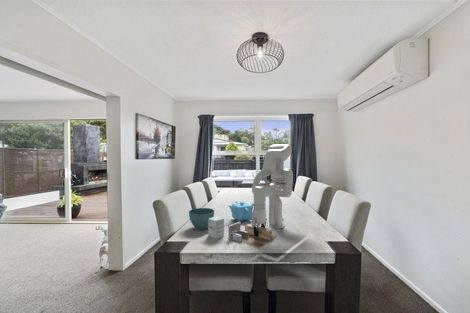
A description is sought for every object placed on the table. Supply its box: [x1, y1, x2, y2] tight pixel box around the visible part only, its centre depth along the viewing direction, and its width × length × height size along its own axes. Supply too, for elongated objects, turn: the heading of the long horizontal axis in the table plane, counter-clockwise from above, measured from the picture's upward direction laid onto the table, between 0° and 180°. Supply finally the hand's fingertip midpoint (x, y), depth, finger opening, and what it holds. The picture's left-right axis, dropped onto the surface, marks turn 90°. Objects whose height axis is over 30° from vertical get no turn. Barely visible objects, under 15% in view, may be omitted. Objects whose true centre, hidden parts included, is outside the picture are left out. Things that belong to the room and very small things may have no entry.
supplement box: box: [207, 216, 225, 240], centre depth 142 cm, size 7×7×13 cm
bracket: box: [227, 221, 249, 243], centre depth 138 cm, size 11×8×8 cm
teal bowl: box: [188, 207, 215, 231], centre depth 162 cm, size 18×18×12 cm
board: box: [226, 229, 278, 249], centre depth 139 cm, size 22×23×2 cm
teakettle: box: [228, 200, 254, 224], centre depth 180 cm, size 19×19×15 cm
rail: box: [244, 223, 273, 240], centre depth 142 cm, size 4×18×5 cm, turn 51°
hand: (259, 234), depth 142 cm, fingers open, 7 cm apart
